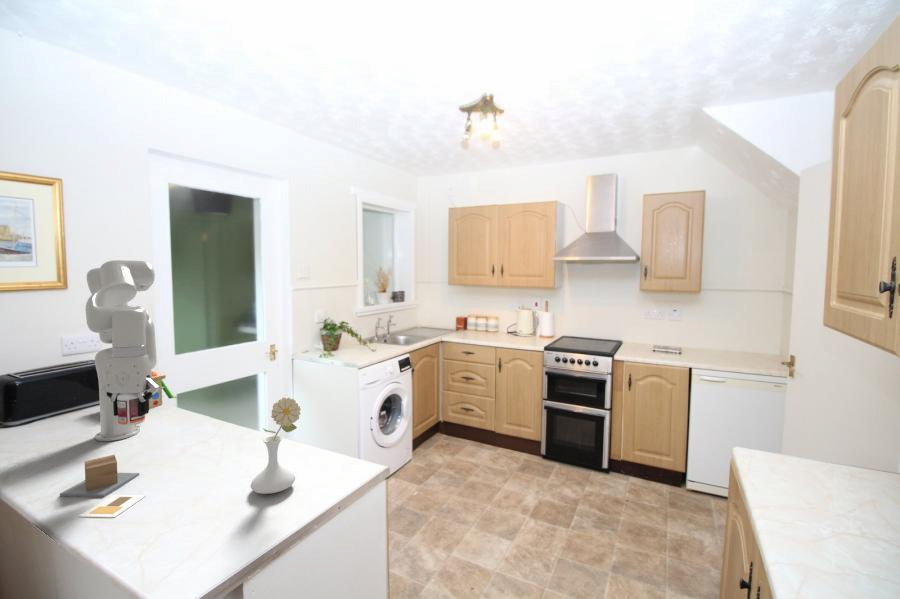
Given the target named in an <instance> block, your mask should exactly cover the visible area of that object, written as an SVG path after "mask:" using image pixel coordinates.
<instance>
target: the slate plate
mask: <svg viewBox="0 0 900 599" xmlns="http://www.w3.org/2000/svg"><path fill="white" fill-rule="evenodd" d="M139 476H140V472H139V473H138V472H117V477H118V483H115V484H112V485H108V486H104V487H100V488H96V489H93V490H89V491H87V490H86V483H85V480H84V479H83V480H82V481H80V482H79V483H76V484H75V485H72V486H71V487H69V488H67V489H66V490H63V491H61V492H60V493H59V497H67V498H69V497H75V498H105V497H107V496H108V495H111V494H112V493H114V492H115V491H117V490H119V489H120V488H122V487H124V486H125V485H126V484H129V483H130V482H131V481H133V480H134V479H136V478H137V477H139Z"/></svg>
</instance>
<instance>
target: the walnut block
mask: <svg viewBox="0 0 900 599" xmlns="http://www.w3.org/2000/svg"><path fill="white" fill-rule="evenodd" d="M117 473H118V461H117V457H116V455H115V454H112V455H107V456H102V457H97V458H94V459H89V460H85V461H84V478H85V483H86V490H87V491H89V490H93V489H96V488H100V487H104V486H108V485H112V484H115V483H118V477H117Z"/></svg>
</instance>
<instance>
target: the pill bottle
mask: <svg viewBox="0 0 900 599" xmlns="http://www.w3.org/2000/svg"><path fill="white" fill-rule="evenodd" d="M143 395H144V393H143ZM139 402H140V399H139V397H138V395H137V394H119V395H118V396H117V407H118V424H119V425H120V426H132V425H136V426H137V425H141V424H142V423H144V422H145V420H146V414H145V415H143V416H139V415H138V403H139Z"/></svg>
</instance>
